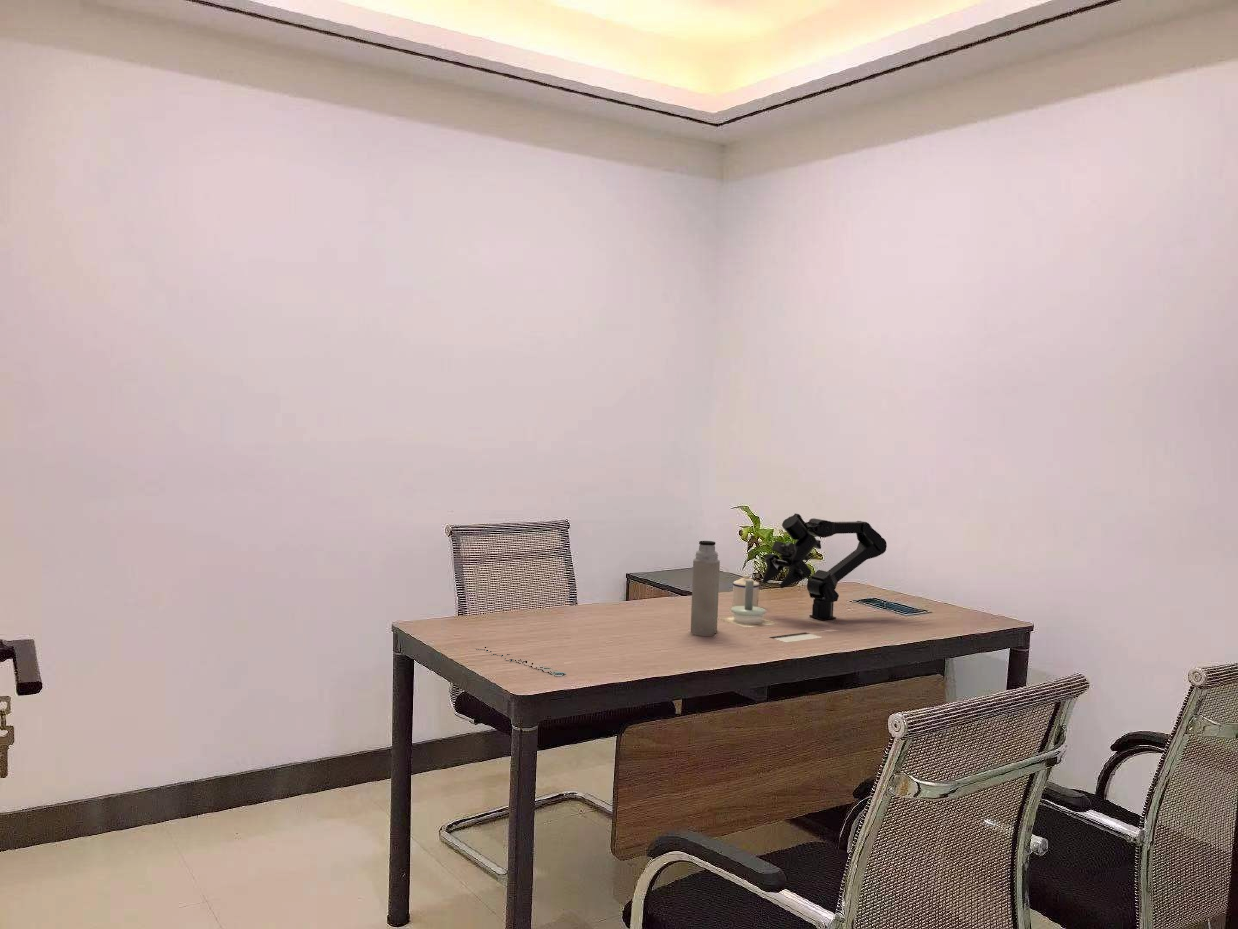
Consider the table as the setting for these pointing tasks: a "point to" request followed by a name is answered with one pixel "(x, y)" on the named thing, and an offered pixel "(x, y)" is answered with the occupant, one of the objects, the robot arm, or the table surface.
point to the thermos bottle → (705, 590)
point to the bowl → (748, 619)
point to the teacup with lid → (740, 592)
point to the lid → (748, 603)
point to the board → (731, 620)
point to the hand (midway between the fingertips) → (771, 584)
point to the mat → (795, 637)
